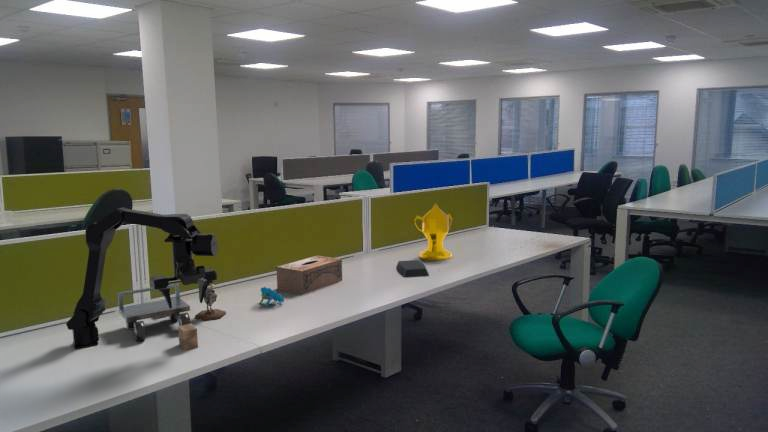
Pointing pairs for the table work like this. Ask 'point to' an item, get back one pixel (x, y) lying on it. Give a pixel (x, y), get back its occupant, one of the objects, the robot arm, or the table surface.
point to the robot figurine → (212, 313)
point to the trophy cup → (435, 233)
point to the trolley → (152, 311)
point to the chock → (188, 336)
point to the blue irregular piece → (270, 296)
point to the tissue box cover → (309, 274)
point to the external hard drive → (412, 268)
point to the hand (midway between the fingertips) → (186, 305)
